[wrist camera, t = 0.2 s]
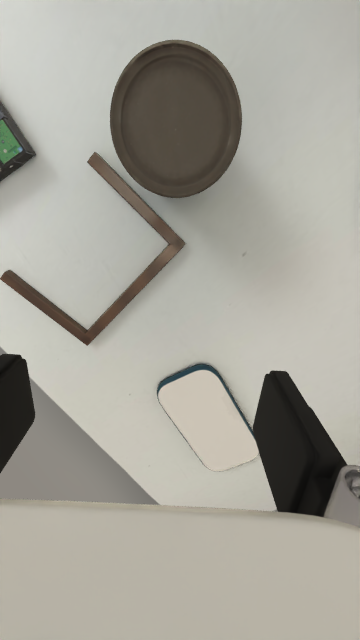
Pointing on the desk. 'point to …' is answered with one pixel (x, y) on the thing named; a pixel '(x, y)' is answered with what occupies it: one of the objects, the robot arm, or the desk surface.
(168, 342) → the desk surface
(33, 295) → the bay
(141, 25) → the desk surface
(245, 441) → the external hard drive
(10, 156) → the disk drive
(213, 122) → the coffee can
